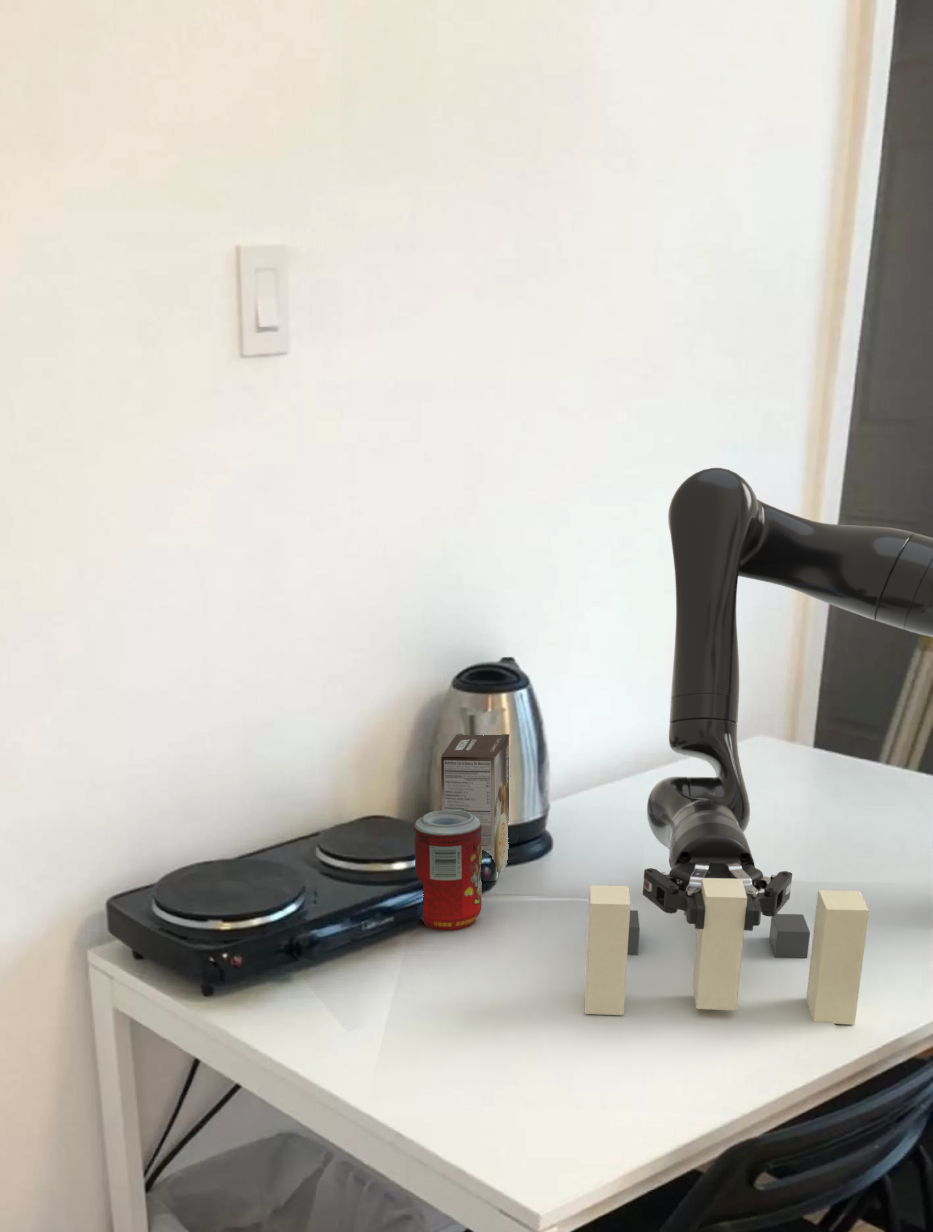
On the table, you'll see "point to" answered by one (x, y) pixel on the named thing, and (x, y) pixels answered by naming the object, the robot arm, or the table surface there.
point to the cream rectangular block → (607, 949)
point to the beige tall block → (837, 956)
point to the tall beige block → (720, 944)
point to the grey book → (633, 933)
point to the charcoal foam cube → (789, 936)
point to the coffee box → (480, 787)
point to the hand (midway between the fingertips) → (725, 919)
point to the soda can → (449, 868)
